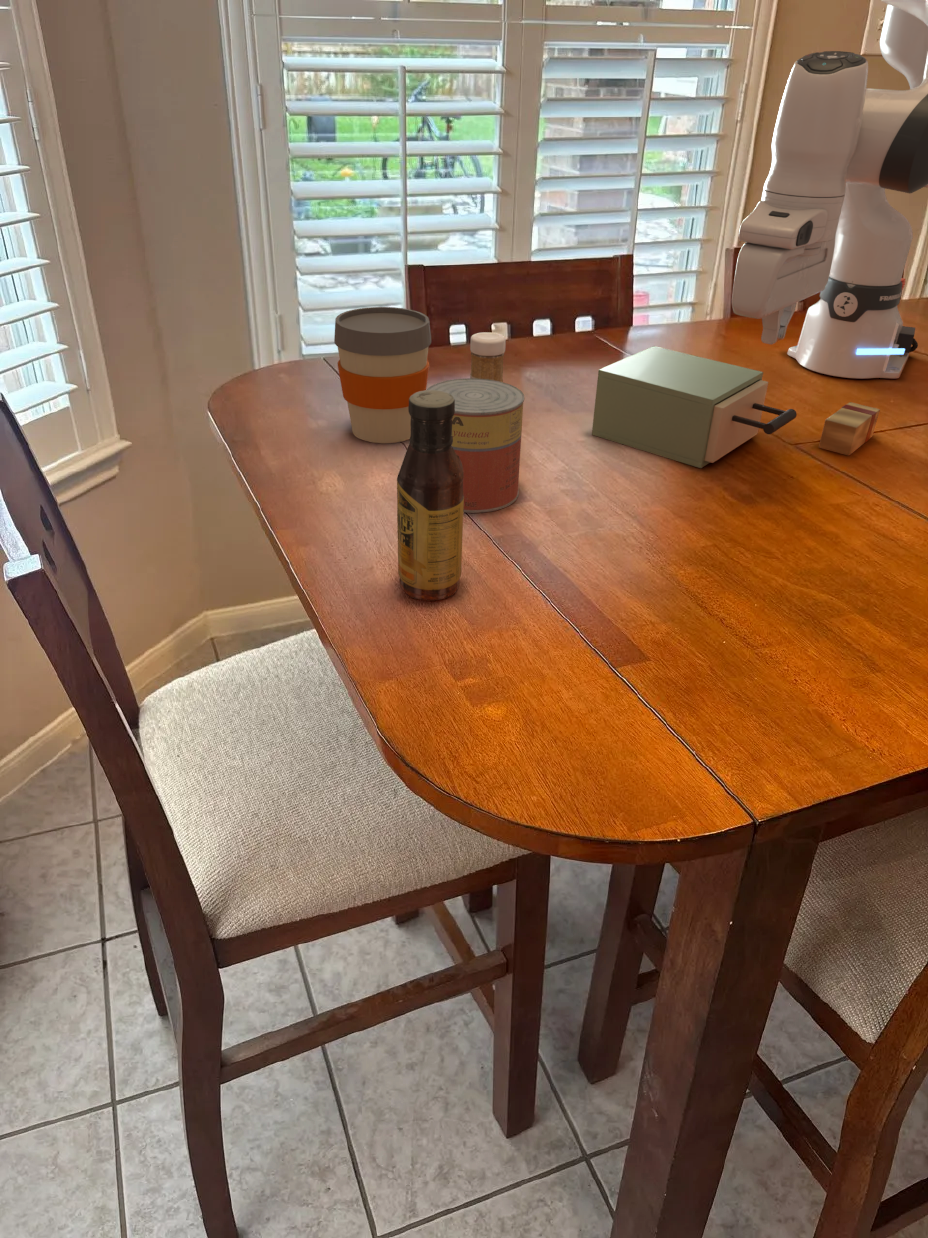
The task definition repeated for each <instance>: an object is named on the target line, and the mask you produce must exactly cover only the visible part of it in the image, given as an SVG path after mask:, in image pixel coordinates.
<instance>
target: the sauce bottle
mask: <svg viewBox="0 0 928 1238" xmlns="http://www.w3.org/2000/svg"><path fill="white" fill-rule="evenodd" d="M408 410H409V414H410V416H411V423H410V425H411V436H410V439H409V443H408V445H407V449H406V452H405V454H404V457H403V460H402V462H401V466H400V468H399V471H398V474H397V477H396V498H397V499H396V505H397V506H396V516H397V517H396V519H397V520H396V521H397V523H396V524H397V527H396V528H397V531H396V533H397V574H398V577H399V585H400V588H401V590H402V591H403V592H404V593H405V594H407V596H408V597H411V598H412V599H415V600H422V601H430V602H431V601H440V600H444V599H448V598H450V597H452V596H454V595H455V594H456V592H457V591H458V588H459V586H460V581H461V576H462V564H463V563H462V562H463V561H462V559H463V533H464V512H463V507H464V495H463V478H464V472H463V465H462V462H461V460H460V458H459V456H458V455H457V454H456V453H455V451H454V449H453V447H452V444H453V437H452V418H453V416H454V413H455V400H454V398H453V396H452V395H451V394H449V393H447V392H443V391H438V390H427V389H426V390H424V391H419V392H416V393H414V394H413V395H411V396H410V398H409V407H408Z"/></svg>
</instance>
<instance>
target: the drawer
mask: <svg viewBox="0 0 928 1238" xmlns="http://www.w3.org/2000/svg"><path fill="white" fill-rule="evenodd" d="M768 388H769V381H766V380H763V379H762V380H760V381H758V382H756V383H754V384H752V385H751V386H749V387H745V388H743V389H741V390H740V391H738V392H736V393H734V394H732V395H731V396H729V397H727V398H725V399H723V400H722V401H720V402H718V403H716V404H715V406H714V410H713V416H712V422H711V427H710V433H709V438H708V444H707V449H706V455H705V461H708V462H710V463H712V464H714V463H716V462H717V461H718V460H720V459H721V458H723V457H724V456H726V455H727V454H729V453H730V452H732V451H733V450H735V449H736V448H738V447H740V446H741V445H743V444H744V443H746V442H747V441H749V440H750V439H752V438H753V437H755V436H756V435H758V434H759V431H760V430H759V429H761V430H763V433H764V434H766V435H773V434H774V433H775V432H777V431H778V430H780V429H781V428H783V427H784V426H786V425H787V424H789V423H790V422H792V421H793V420H795V419H796V417H797V415H798V413H797V411H796V410H795V409H794V408H788V409H787V410H783V409H780V408H776V407H771V406H768V405H765V401H766V396H767V391H768ZM763 412H764V413H769V414H772V415H777V416H776V417H775V418H773V419H771V420H769V421H768V422H767V423H766V422H762V421H761V420H762V415H763Z"/></svg>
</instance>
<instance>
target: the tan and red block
mask: <svg viewBox="0 0 928 1238" xmlns="http://www.w3.org/2000/svg"><path fill="white" fill-rule="evenodd" d="M880 411H881V409H880V408H877V407H872V406H868V405H864V404H860V403H856V402H853V401H849V402H848V403H846V404H844V405H843V406H841V408H840V409H838V410H837V411H835V412H834V413H832V414H831V415H830V416H828V417H827V418H826V419H825V420H824V424H823V428H822V432H821V436H820V441H819V445H818V448H819V449H823V450H826V451H829V452H834V453H837V454H841V455H845V456H848V457H849V456H851V455H852V454H853V453H854V452H855V451H857V450H858V449H859V448H861V446H863V445H864V444H866V443H867V442H869V440H870V439H872V437H873V436H874V432H875V429H876V426H877V422H878V418H879V414H880Z"/></svg>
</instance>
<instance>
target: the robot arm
mask: <svg viewBox="0 0 928 1238" xmlns="http://www.w3.org/2000/svg"><path fill="white" fill-rule="evenodd" d="M880 1H881V2H882V3H884V4H886V9H885V14H884V18H883V24H882V28H881V33H880V37H879V49H880V53H881V55H882V56H881V57H882V58H883V59H884V60H885V62H886V63H887V64H888V65H889V66H890V67H891V68H893V69H894V70H896V71H897V72H899V74H902V75H903V76H904V77H905V78H906V80H907V83H908V86H909V89H905V90H904V89H903V90H902V89H901V90H900V89H883V88H882V89H881V88H867V86H868V77H869V61H868V60H867V58H866V57H864V56H863V55H861V54H858V53H855V52H851V51H845V50H844V51H841V50H826V51H821V52H820V51H819V52H816V51H815V52H811V53H808V54H805V55H804V56H801V57H800V58H798V59H797V60H795V62H794V63H793V65H792V68H791V71H790V73H789V75H788V79H787V82H786V85H785V89H784V92H783V94H782V97H781V98H782V99H781V101H780V105H779V109H778V113H777V117H776V122H775V126H774V129H773V136H772V140H771V165H770V168H769V169H770V170H769V172H768V175H767V178H766V180H765V182H764V183H763V188H762V193H761V199H760V201H758V202H757V204H756V207H755V208H754V209H753V210H752V211H751V212H750V213H749V215H748V216H746V217H745V218H744V219H743V220H742V222H741V223H740V226H739V231H738V241H739V242H742V243H744V244H743V245H742V246H741V248H740V250H739V253H738V256H737V260H736V265H735V271H734V279H733V286H732V293H731V307H732V312H733V314H734V315H737V316H741V317H744V318H745V317H746V318H750V319H757V320H759V319H761V322H762V323H761V324H762V333H761V336H760V337H761V338H760V340H761V342H762V343H763V344H765V345H766V344H767V345H771V346H772V345H774V344H776V343H779V342H780V341H782V340H784V339H785V337H786V333H787V329H788V326H789V323H790V321H791V319H792V317H793V315H794V313H795V312H796V308H797V303H799V302H802V301H804V300H805V299H808V298H811V297H812V296H815V295H817V294H819V298H820V299H819V300H818V301H817V302H816V303H814V304H812V305H811V306H808V309H807V311H806V313H805V318H804V320H803V321H804V322H803V325H802V328H801V332H800V335H799V338H798V342H797V345H794V346H791V347H789V348H788V350H787V352H786V354H787V355H788V356H789V357H792V358H793V359H795V360H796V361H797V363H798V364H799V365H800V366H802V367H804V368H806V369H808V370H810V371H812V372H816V373H819V374H822V375H823V374H824V375H827V376H833V377H838V378H847V379H879V378H880V379H899V378H901V374H902V372H903V370H904V368H905V366H906V364H907V362H908V359H909V356H910V353H912V352H914V351H916V350H917V349H918V347H919V344H918V341H917V340H916V339H915V334H916V327H913V326H907V325H906V326H905V325H904V321H903V319H902V315H901V313H900V310H899V308H898V305H900V302H901V297H902V294H903V290H904V288H905V285H906V278H903V274H904V270H905V268H906V263H907V260H908V256H909V252H910V250H911V245H912V242H913V238H914V236H913V227H912V225H911V223H910V221H909V220H908V218H906V216H905V215H904V214H902V213H901V212H899V210H897V209H895V208H894V207H893V206H892V205H891V204H890V203H889V201H888V199H887V196H886V195H887V194H886V190H891V191H895V192H901V193H905V194H913V193H915V192H917V191H920V190H922V189H923V188H926V189H928V0H880Z"/></svg>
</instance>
